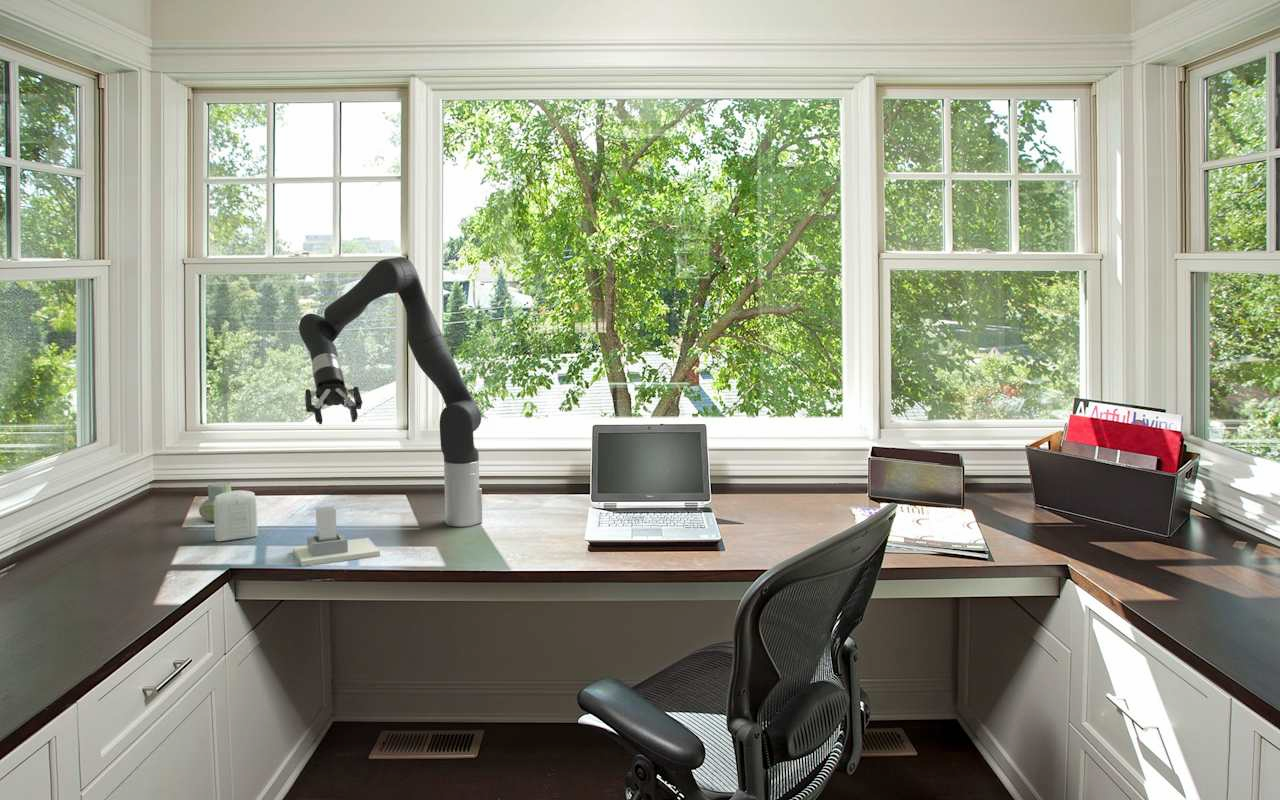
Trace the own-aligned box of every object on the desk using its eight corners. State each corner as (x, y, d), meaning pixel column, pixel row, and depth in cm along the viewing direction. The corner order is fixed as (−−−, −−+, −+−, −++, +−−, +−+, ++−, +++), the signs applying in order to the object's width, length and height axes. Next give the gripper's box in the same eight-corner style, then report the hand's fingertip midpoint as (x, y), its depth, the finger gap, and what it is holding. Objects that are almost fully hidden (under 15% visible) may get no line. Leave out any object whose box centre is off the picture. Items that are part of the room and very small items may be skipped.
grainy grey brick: (334, 546, 236) (332, 506, 235) (337, 550, 232) (335, 510, 231) (317, 548, 234) (315, 508, 233) (320, 552, 231) (318, 511, 229)
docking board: (368, 542, 244) (367, 526, 244) (379, 555, 233) (379, 538, 232) (293, 551, 236) (292, 535, 235) (301, 566, 224) (300, 548, 224)
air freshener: (194, 522, 264) (191, 486, 262) (214, 514, 272) (212, 479, 270) (228, 524, 261) (226, 488, 260) (248, 517, 269) (246, 482, 268)
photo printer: (256, 533, 252) (253, 487, 251) (259, 537, 249) (257, 490, 247) (213, 539, 247) (211, 491, 245) (217, 543, 243) (214, 495, 242)
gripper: (301, 366, 257) (310, 414, 249) (356, 364, 264) (367, 411, 255) (299, 384, 263) (308, 431, 254) (352, 381, 269) (363, 427, 261)
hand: (337, 421), depth 255 cm, fingers open, 8 cm apart
